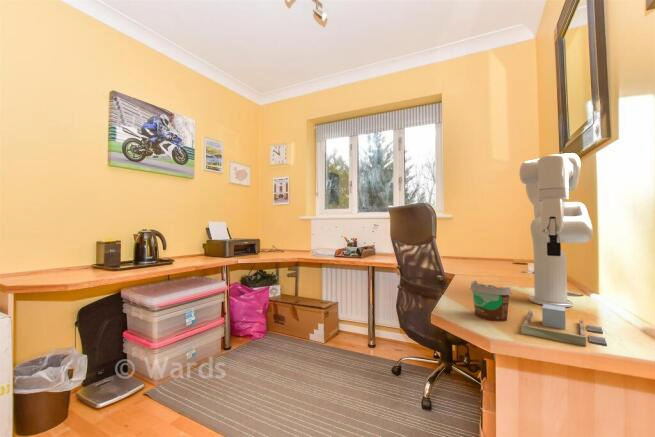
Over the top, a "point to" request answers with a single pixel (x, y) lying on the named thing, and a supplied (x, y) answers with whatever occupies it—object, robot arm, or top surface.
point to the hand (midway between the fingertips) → (554, 255)
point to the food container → (490, 301)
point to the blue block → (554, 316)
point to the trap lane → (561, 335)
